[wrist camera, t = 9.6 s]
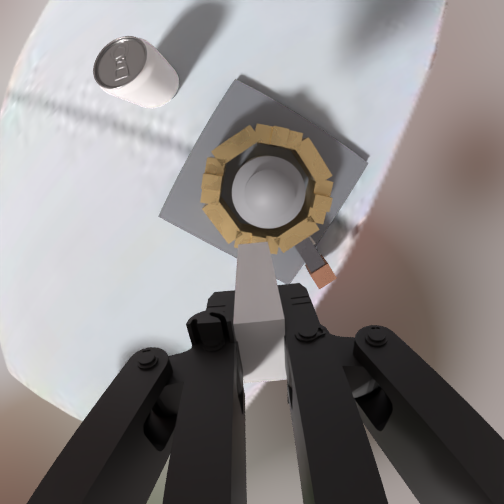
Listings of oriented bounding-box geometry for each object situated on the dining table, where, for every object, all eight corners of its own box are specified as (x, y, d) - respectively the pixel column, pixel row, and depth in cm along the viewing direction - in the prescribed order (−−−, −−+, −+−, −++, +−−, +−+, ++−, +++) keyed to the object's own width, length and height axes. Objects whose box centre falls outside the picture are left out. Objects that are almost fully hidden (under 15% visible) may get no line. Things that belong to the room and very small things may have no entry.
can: (176, 58, 28) (148, 23, 16) (183, 101, 30) (155, 79, 19) (131, 73, 28) (87, 48, 17) (137, 115, 30) (92, 103, 19)
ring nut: (184, 173, 31) (175, 177, 27) (280, 108, 29) (286, 101, 25) (278, 299, 38) (282, 317, 34) (363, 245, 35) (377, 257, 31)
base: (235, 81, 29) (233, 62, 22) (364, 162, 33) (393, 167, 26) (160, 214, 35) (140, 231, 28) (287, 281, 39) (297, 311, 32)
